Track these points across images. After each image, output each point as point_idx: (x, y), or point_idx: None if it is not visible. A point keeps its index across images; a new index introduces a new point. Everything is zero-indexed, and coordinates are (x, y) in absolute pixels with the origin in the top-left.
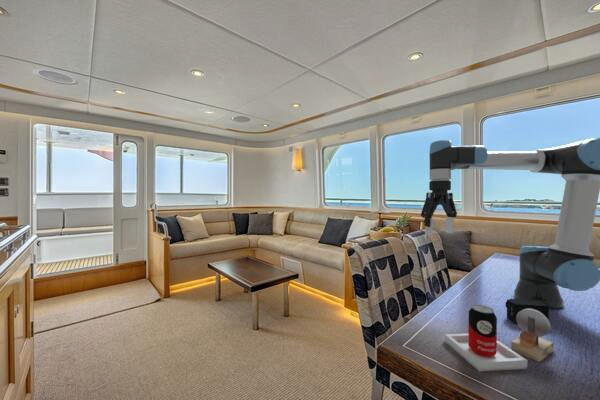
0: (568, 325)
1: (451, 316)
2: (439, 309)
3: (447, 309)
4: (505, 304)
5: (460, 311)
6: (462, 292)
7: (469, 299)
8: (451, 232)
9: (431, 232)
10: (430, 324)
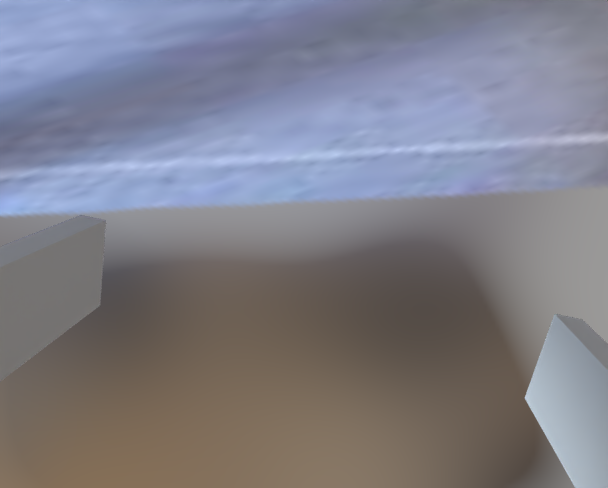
0: None
1: (418, 94)
2: (380, 159)
3: (351, 135)
4: None
5: (328, 86)
6: (71, 162)
7: (140, 107)
8: (98, 231)
9: (599, 342)
10: (573, 125)
